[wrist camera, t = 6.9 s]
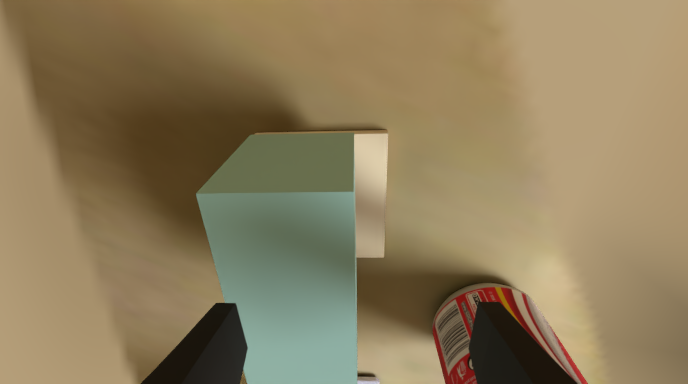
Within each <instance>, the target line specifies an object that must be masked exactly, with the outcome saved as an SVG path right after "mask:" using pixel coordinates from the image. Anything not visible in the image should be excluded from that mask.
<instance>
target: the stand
mask: <svg viewBox="0 0 688 384" xmlns="http://www.w3.org/2000/svg"><path fill="white" fill-rule="evenodd" d="M310 133H354V152H355V213H356V258H384V241H385V211H386V180H387V150H388V132H387V130H361V131H312V132H263V133H255V134H254V135H260V134H310Z"/></svg>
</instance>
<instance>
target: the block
mask: <svg viewBox="0 0 688 384" xmlns="http://www.w3.org/2000/svg"><path fill="white" fill-rule="evenodd" d="M196 197H197V201H198V204H199V208H200V212H201V215H202V219H203V223H204V226H205V230H206V234H207V237H208V241H209V245H210V249H211V252H212V256H213V260H214V263H215V267H216V271H217V274H218V278H219V282H220V285H221V289H222V293H223V296H224V300H225V303H236V305H237V309H238V313H239V317H240V320H241V324H242V328H243V332H244V336H245V339H246V343H247V347H248V350H247V354H246V359H245V363H244V368H243V370H244V374H245V377H246V381H247V384H357V273H356V213H355V152H354V133H310V134H260V135H250V136H249V137H248V138H247V139H246V140H245V141H244V142H243V143H242V144H241V145H240V146H239V147H238V149H237V150H236V151H235V152H234V153H233V154H232V155H231V156H230V157H229V158H228V159H227V160H226V162H225V163H224V164H223V165H222V166H221V167H220V168H219V169H218V170H217V171H216V172H215V173H214V174H213V176H212V177H211V178H210V179H209V180H208V181H207V182H206V183H205V184H204V185H203V186H202V187H201V188H200V190H199V191H198V192H197V193H196Z"/></svg>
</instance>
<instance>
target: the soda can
mask: <svg viewBox="0 0 688 384" xmlns="http://www.w3.org/2000/svg"><path fill="white" fill-rule="evenodd" d="M478 302H500V303H501V304H502V305H503V306H504V307H505V308H506V309H507V310H508V311H509V312H510V313H511V314H512V316H513V317H514V318H515V319H516V320H517V321H518V322H519V323H520V324H521V325H522V326H523V328H524V329H525V330H526V331H527V332H528V333H529V334H530V335H531V336H532V337H533V338H534V339H535V340H536V341H537V342H538V344H539V345H540V346H541V347H542V348H543V349H544V350H545V351H546V352H547V353H548V354H549V355H550V356H551V357H552V358H553V359H554V360H555V361H556V362H557V363H558V364H559V365H560V366H561V367H562V368H563V369H564V370H565V371H566V372H567V373H568V374H569V375H570V376H571V377H572V378H573V379H574V380H575V381H576V382H577V383H578V384H588V383H587V382H586V380H585V379H584V377H583V376H582V374H581V372H580V371H579V369H578V368H577V366H576V365H575V363H574V362H573V360H572V359H571V357H570V356H569V354H568V353H567V351H566V350H565V348H564V346H563V345H562V343H561V342H560V340H559V339H558V337H557V336H556V334H555V333H554V331H553V330H552V328H551V327H550V325H549V324H548V322H547V321H546V319H545V318H544V316H543V314H542V313H541V311H540V310H539V308H538V307H537V306H536V304H535V303H534V301H533V300H532V299H531V298H530V297H529V296H528V295H527V294H525V293H524V292H522V291H520V290H518V289H516V288H513V287H510V286H505V285H501V284H496V283H479V284H474V285H470V286H467V287H464V288H462V289H460V290H458V291H456V292H455V293H453V294H452V295H450V296H449V297H448V298H447V299H446V300H445V301H444V302H443V304H442V305H441V307H440V308H439V309H438V311H437V312H436V315H435V317H434V320H433V325H432V330H433V336H434V340H435V344H436V348H437V352H438V356H439V360H440V364H441V368H442V372H443V376H444V379H445V383H446V384H477V381H476V377H475V373H474V369H473V365H472V361H471V357H470V353H469V349H468V348H469V343H470V339H471V334H472V329H473V324H474V319H475V314H476V310H477V305H478Z"/></svg>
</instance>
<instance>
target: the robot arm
mask: <svg viewBox="0 0 688 384" xmlns="http://www.w3.org/2000/svg"><path fill="white" fill-rule="evenodd" d="M468 349H469V353H470V357H471V361H472V365H473V369H474V373H475V377H476V381H477V384H578V383H577V382H576V381H575V380H574V379H573V378H572V377H571V376H570V375H569V374H568V373H567V372H566V371H565V370H564V369H563V368H562V367H561V366H560V365H559V364H558V363H557V362H556V361H555V360H554V359H553V358H552V357H551V356H550V355H549V354H548V353H547V352H546V351H545V350H544V349H543V348H542V347H541V346H540V345H539V344H538V342H537V341H536V340H535V339H534V338H533V337H532V336H531V335H530V334H529V333H528V332H527V331H526V330H525V329H524V328H523V326H522V325H521V324H520V323H519V322H518V321H517V320H516V319H515V318H514V317H513V316H512V314H511V313H510V312H509V311H508V310H507V309H506V308H505V307H504V306H503V305H502V304H501V303H500V302H478V305H477V310H476V314H475V319H474V324H473V329H472V334H471V339H470V343H469V348H468ZM247 350H248V347H247V343H246V339H245V336H244V332H243V328H242V324H241V320H240V317H239V313H238V309H237V305H236V303H216V304H215V305H214V306H213V307H212V308H211V309H210V310H209V311H208V312H207V313H206V314H205V316H204V317H203V318H202V319H201V320H200V321H199V322H198V323H197V324H196V326H195V327H194V328H193V329H192V330H191V331H190V332H189V333H188V334H187V335H186V337H185V338H184V339H183V340H182V341H181V342H180V343H179V344H178V345H177V346H176V347H175V349H174V350H173V351H172V352H171V353H170V354H169V355H168V356H167V357H166V358H165V359H164V360H163V361H162V362H161V363H160V364H159V365H158V367H157V368H156V369H155V370H154V371H153V372H152V373H151V374H150V375H149V376H148V377H147V378H146V379H145V380H144V381H143V382H142V383H141V384H240V380H241V376H242V372H243V368H244V363H245V359H246V354H247ZM357 384H380V381H379V379H378V378H376V377H357Z"/></svg>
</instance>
